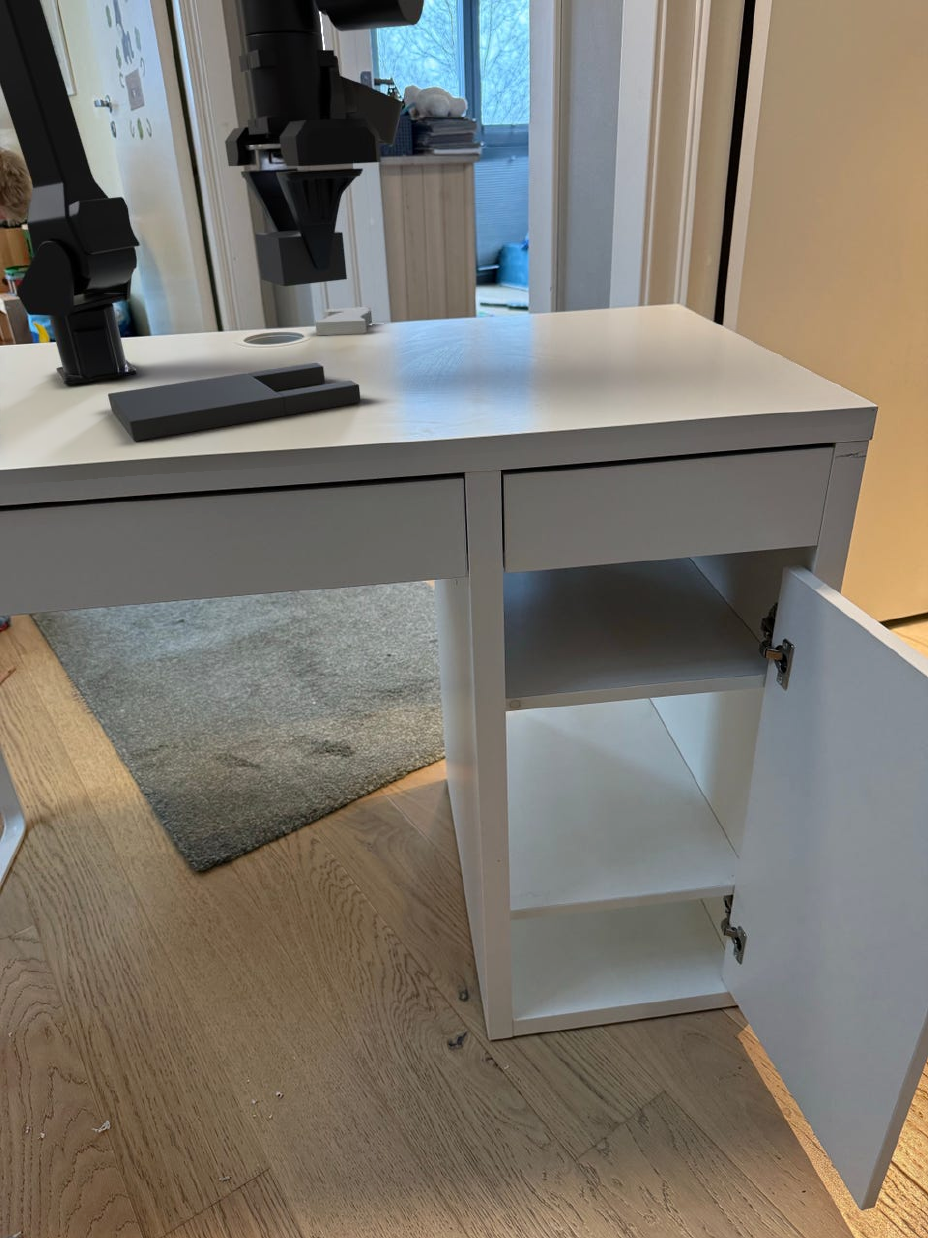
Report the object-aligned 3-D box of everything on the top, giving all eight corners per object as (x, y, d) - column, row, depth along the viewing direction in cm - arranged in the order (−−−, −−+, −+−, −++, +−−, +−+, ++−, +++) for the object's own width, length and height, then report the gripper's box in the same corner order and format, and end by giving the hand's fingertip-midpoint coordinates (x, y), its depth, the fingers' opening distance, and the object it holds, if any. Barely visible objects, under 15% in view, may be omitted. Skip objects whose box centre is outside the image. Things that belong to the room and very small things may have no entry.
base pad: (111, 411, 71) (107, 393, 70) (318, 379, 78) (316, 362, 77) (134, 441, 63) (129, 421, 62) (361, 402, 70) (359, 384, 69)
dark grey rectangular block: (261, 279, 71) (254, 233, 70) (321, 272, 74) (316, 228, 72) (284, 286, 67) (278, 237, 66) (347, 279, 70) (342, 232, 68)
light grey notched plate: (366, 333, 96) (374, 317, 105) (365, 320, 96) (373, 305, 104) (315, 335, 96) (327, 319, 105) (314, 322, 96) (326, 307, 104)
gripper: (440, 22, 59) (450, 266, 66) (338, 50, 73) (356, 248, 81) (284, 18, 54) (314, 281, 62) (209, 49, 69) (240, 259, 76)
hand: (310, 265), depth 70 cm, fingers closed on dark grey rectangular block, 5 cm apart
